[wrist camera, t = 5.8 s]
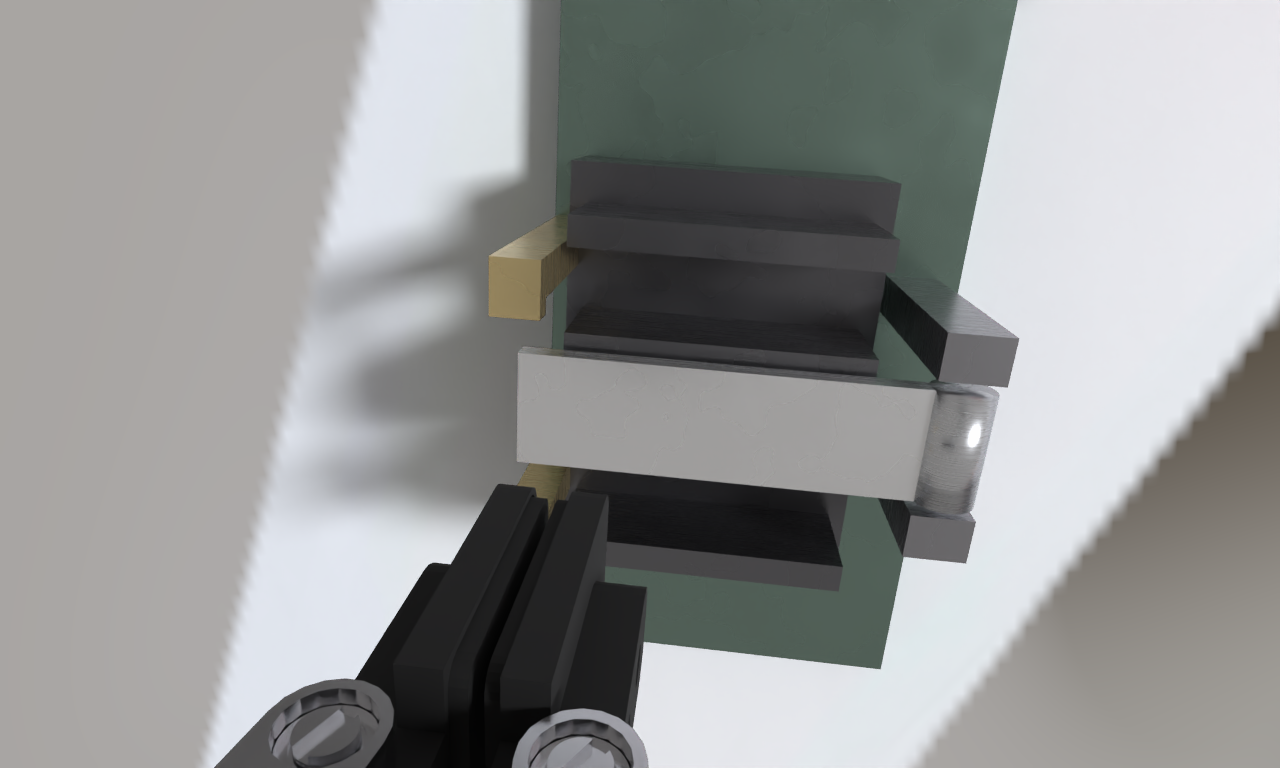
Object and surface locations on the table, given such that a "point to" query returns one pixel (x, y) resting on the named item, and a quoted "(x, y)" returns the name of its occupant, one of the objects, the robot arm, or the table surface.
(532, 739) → the robot arm
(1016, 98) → the table surface
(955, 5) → the circuit board
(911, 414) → the retention strap
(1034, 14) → the table surface
